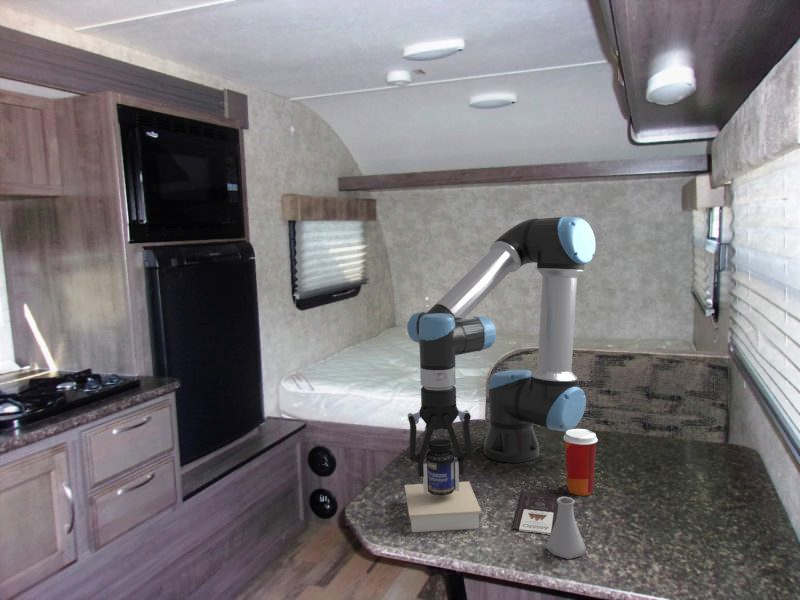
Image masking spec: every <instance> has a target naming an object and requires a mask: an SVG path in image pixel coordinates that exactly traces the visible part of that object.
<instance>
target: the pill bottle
mask: <svg viewBox="0 0 800 600" xmlns="http://www.w3.org/2000/svg"><path fill="white" fill-rule="evenodd" d="M428 448H429V451H428V452H426V455H425V459H426V462H427V479H428V492H429V493H430V494H433V495H438V496H444V495H449V494H451V493H453V492H454V490H455V472H454V458H455V454H454V453H453V451H451V448H452V442H451V440H449V439H447V438H433V439H430V441H429V445H428Z"/></svg>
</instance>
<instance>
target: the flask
mask: <svg viewBox="0 0 800 600" xmlns="http://www.w3.org/2000/svg"><path fill="white" fill-rule="evenodd" d="M557 503H558V514H557V519H556V522H555V524H554V527H553V530H552V532H551V535H549V538H548V540H547V542H546V545H545V549H546V550H547V551H549V552H550V553H551V554H552V555H554V556H557V557H560V558H564V559H567V560H571V559H574V558H578V557H582V556H583V555H584V553H585V552H586V550H587V547H586V545H585V543H584V540H583V537H582V535H581V532H580V530H579V527H578V524H577V522H576V518H575V513H574V504H575V503H576V501H575V500H574V499H573V498H572V497H568V496H562V497H559V498H558V499H557Z"/></svg>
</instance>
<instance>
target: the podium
mask: <svg viewBox="0 0 800 600" xmlns="http://www.w3.org/2000/svg"><path fill="white" fill-rule="evenodd" d="M404 490H405V491H404V492H405V499H406V505H407V511H408V517H409V521H410V528H411V533H425V532H427V533H428V532H439V531H440V532H441V531H458V530H473V529H474V530H477V529H480V514H482V509H481V507H480V504H479V502H478V500H477V497H476V495H475V493H474V490H473V488H472V485H471V483H470V481H459V491H455V490H454V492H453V493H451V494H449V495H444V496H438V495H433V494H430V493H429V492H428V493H424V489H423V483H417V484H416V483H415V484H404Z"/></svg>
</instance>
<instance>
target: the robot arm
mask: <svg viewBox="0 0 800 600" xmlns="http://www.w3.org/2000/svg"><path fill="white" fill-rule="evenodd" d="M595 254H596V238H595V234H594V232H593V229H592V228H591V226H590V224H589V223H588V222H587V221H586V220H585V219H583V218H581V217H576V216H575V217H574V216H573V217H572V216H562V217H561V216H560V217H559V216H558V217H547V218H546V217H545V218H544V217H543V218H530V219H527V220H524V221H521V222H520V223H518V224H515V225H514V226H513V227H511V228H510V229H508V230H507V231H505V232H504V233H503V234H501V235H500V236H499V237H498V238H497V239H496V240H495V241H494V242H493V243H491V245H490V247H489V252H488V253H487V254H486V255H485V256H484V257H483V258H482V259H481V260H479V261H478V263H477V264H476V265H474V266H473V267H472V268H471V269H470V270H469V271H468V272H467V273H466V274H465V275H463V277H462V278H461V279H460V280H459V281H458V282H457V283H456V284H455V285H454V286H452V287H451V289H449V291H447V292H446V293H445V294H444V295H443V296H442V297H441V298H440V299H439V300H438V301H437V302H436V303H435V304H434V305H433V306H432V307H431V308H430V309H428V311H426V312H425V311H421V312H415V313H413V315H411V316H410V318H409V319H408V321H407V326H406V329H407V334H408V336H409V338H410V339H411V340H412V341H414V342H416V343H418V344H419V345H418V346H419V360H420V361H419V363H420V364H419V366H420V370H419V373H420V385H421V386H422V387H421V388H420V401H421V404H420V409H419V410H418V412H415V413H408V414H407V420H408V422H409V438H408V439H409V441H408V459H409V460H410V461H411V462H416V463H417V475H418V477H419V478H422V484H423V489H424V493H428V479H427V462H426V455H427V453H428V452H427V451H428V448H429V441H430V440H431V438H432V435H433V432H434V431H435V430H447V433H448V436H449V439H450V442H451V446H453V450H454V452H455V455H456V457H454V472H455V491H459V482H460V475H462V476H463V475H464V462H465V460H466V459H471V458H472V444H471V432H470V425H469V424H470V421H471V418H472V416H471V413H470V411H469V410H459V408H458V407H457V388H456V387H455V385H456V383H457V382H456V381H457V380H456V378H457V377H456V356H460V355H465V354H470V353H474V352H481V351H483V350H486V349H489V348H491V347H492V346H493V345H494V344H495V342H496V339H497V331H496V330H497V329H496V325H495V324H494V323H493V321H492V320H491V319H490V318H488V317H486V316H473V317H467V316H469V314H470V313H472V311H473V310H474V309H475V308H476V307H477V306H479V304H480V303H481V302H483V300H484V299H485V298H486V297H488V295H489V294H490V293H491V292H492V291H493V290H494V289H495V288H496V287H497V286H498V285H499V284H501V282H502V281H503V280H504V279H505V278H506V277H507V276H508V274H510V273H514V272H516V271H518V270H519V269H520V268H521V267H522V266H524V265H527V264H532V263H533V264H534V263H535V264H536V270H537V271H538V272H539V274H540V275H541V277H542V278H541V279H542V281H541V298H540V313H539V314H540V315H539V316H540V317H539V331H538V349H537V352H538V353H537V368H536V369H535V370H534V371H533V372H532V371H531V370H529V369H509V370H501V371H498V372H495V373H493V374H491V375H490V377H489V381H488V382H489V383H488V397H489V427H488V430H487V433H486V437H485V440H484V443H483V454H484V456H486V457H488V458H489V459H491V460H494V461H496V462H497V461H498V462H503V463H510V464H511V463H512V464H513V463H526V462H531V461H533V460H535V459H537V458H538V457H539V456H540V445H539V441H538V439H537V436H536V432H535V430H534V426H533V425H535V426H540V427H544V428H546V429H549V430H552V431H559V432H566V431H567V430H571V429H575V428H576V426H577V425H578V424H579V423H580V422H581V420H582V418H583V415H584V413H585V411H586V407H587V406H586V405H587V397H586V395H585V391H584V390H583V389H582V388H580V387H579V386H578V377H577V375H575V374H574V373H573V370H572V368H573V355H574V340H575V339H574V336H575V323H576V322H575V321H576V320H575V318H576V306H577V305H576V302H577V288H578V287H577V285H578V277H580V275H582V274H583V273H584V272H585V271H584V270H585V265H586V264H588V263H590V262H591V261H592V259H593V257H594V255H595ZM458 416H459V420H460V421H461V430H462V441H463V442H462V443H463V451H462V450H461V447H460V445H459V442H458V439H457V436H456V432H455V431H454V427H453V423H454V422H455V420H456V419H457V417H458ZM420 419H422V421H423V422H424V423H425V427H424V432H423V435H422V439H421V442H420V445H419V448H418V453H416V450H417V448H416V447H417V424H419V421H420Z"/></svg>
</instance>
